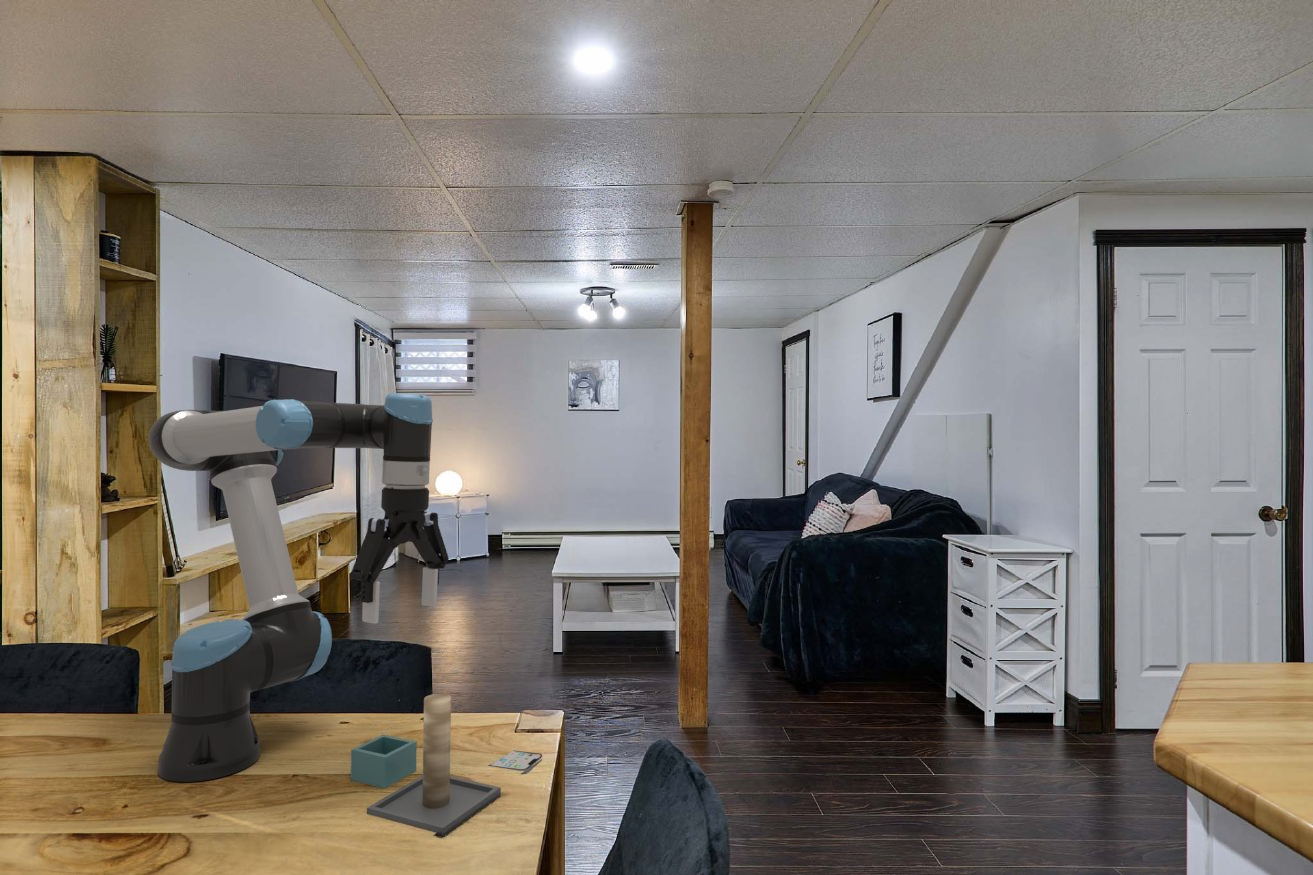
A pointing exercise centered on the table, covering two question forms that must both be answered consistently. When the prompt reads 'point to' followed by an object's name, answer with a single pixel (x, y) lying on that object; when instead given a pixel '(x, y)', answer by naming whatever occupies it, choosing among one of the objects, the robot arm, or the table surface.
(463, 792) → the tray
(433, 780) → the dowel
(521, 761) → the smartphone
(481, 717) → the table surface
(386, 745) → the teal open box
